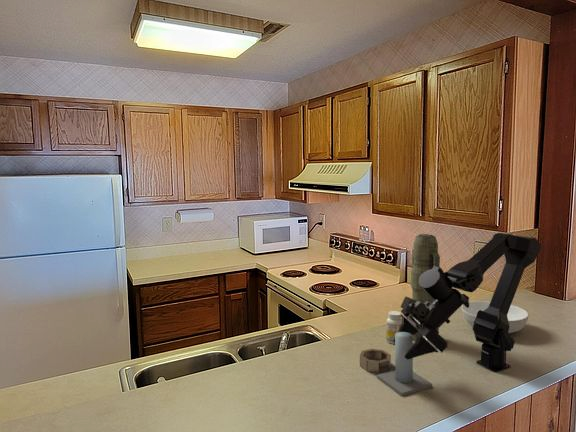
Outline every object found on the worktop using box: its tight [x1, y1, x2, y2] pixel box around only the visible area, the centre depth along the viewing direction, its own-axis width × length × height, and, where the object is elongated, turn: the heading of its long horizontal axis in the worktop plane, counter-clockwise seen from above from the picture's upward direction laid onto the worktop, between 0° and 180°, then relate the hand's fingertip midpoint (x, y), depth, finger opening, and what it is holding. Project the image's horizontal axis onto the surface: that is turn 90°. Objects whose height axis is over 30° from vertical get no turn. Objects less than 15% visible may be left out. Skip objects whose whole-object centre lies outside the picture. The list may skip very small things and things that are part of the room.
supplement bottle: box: [385, 310, 402, 345], centre depth 130 cm, size 5×5×10 cm
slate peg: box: [394, 332, 414, 383], centre depth 104 cm, size 4×4×12 cm
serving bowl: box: [461, 300, 529, 334], centre depth 139 cm, size 21×21×7 cm
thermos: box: [410, 233, 441, 343], centre depth 130 cm, size 9×12×35 cm
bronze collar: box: [359, 348, 392, 374], centre depth 114 cm, size 8×8×3 cm
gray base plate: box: [376, 370, 433, 397], centre depth 104 cm, size 10×10×1 cm
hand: (399, 350), depth 104 cm, fingers open, 9 cm apart
